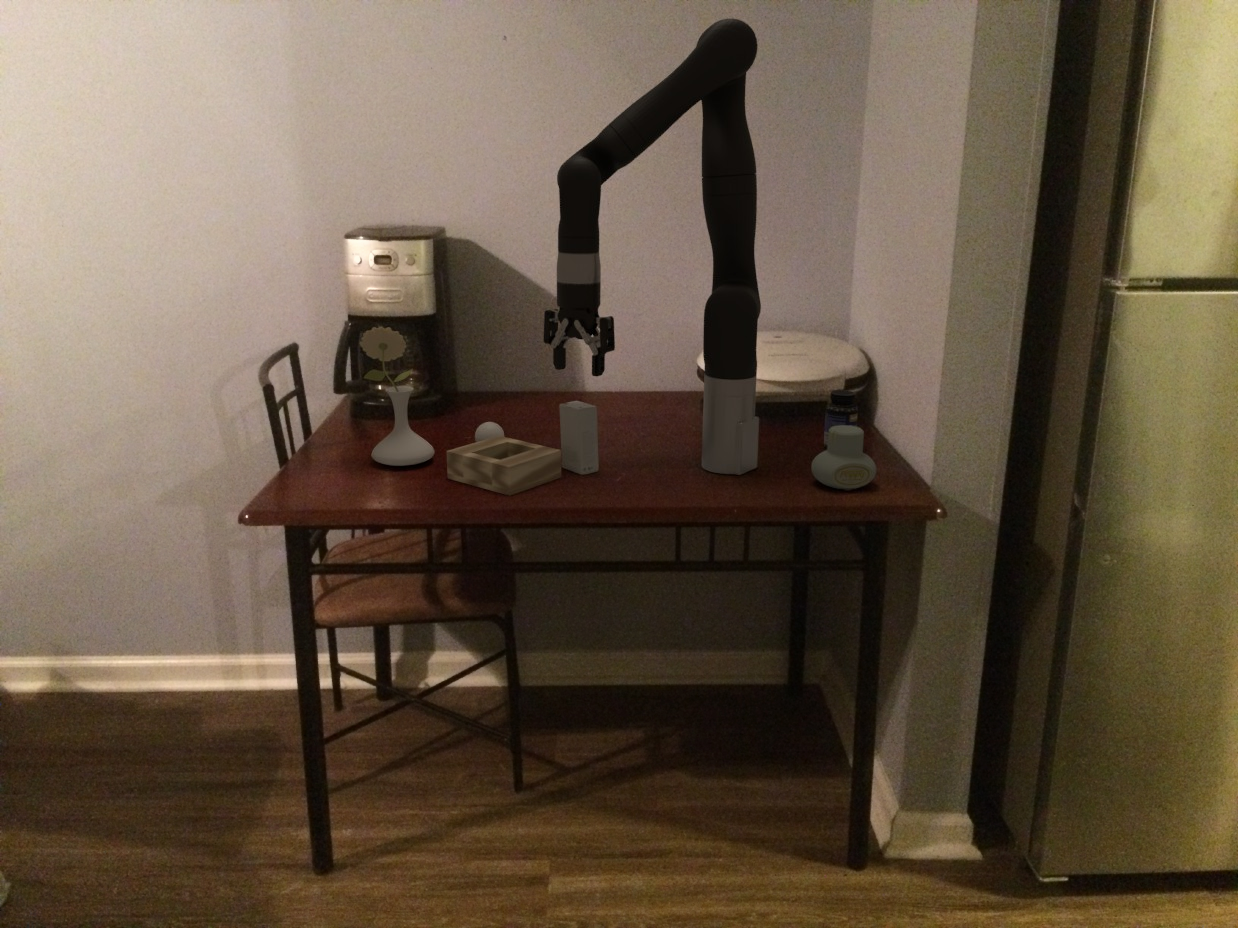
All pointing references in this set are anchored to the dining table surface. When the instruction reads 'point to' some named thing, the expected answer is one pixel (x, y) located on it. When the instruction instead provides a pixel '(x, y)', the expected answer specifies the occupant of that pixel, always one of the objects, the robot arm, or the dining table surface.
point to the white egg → (488, 431)
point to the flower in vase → (394, 402)
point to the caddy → (504, 465)
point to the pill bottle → (840, 411)
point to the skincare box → (579, 437)
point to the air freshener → (844, 460)
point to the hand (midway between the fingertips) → (578, 372)
